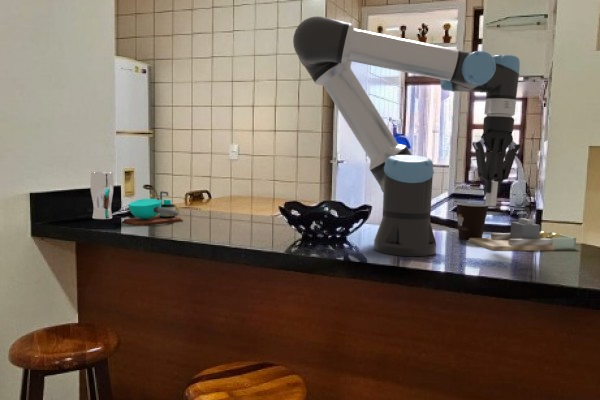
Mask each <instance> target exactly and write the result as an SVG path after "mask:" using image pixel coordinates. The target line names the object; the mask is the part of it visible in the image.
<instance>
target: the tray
mask: <svg viewBox="0 0 600 400" xmlns="http://www.w3.org/2000/svg"><path fill="white" fill-rule="evenodd" d="M546 232H547V233H548V234H549V235H551V234H552V233H555V232H553V231H546ZM559 234H560V235H561V237H562V238H551V239H553V244H552V245H554V246H555V250H576V246H577V237H572V236H569V235H565V234H561V233H559Z"/></svg>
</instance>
